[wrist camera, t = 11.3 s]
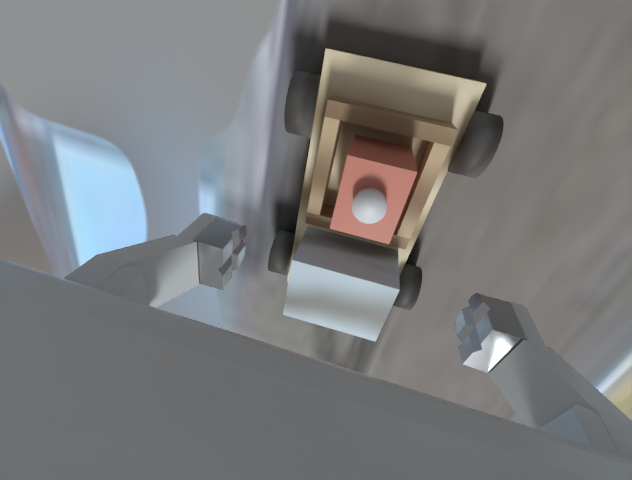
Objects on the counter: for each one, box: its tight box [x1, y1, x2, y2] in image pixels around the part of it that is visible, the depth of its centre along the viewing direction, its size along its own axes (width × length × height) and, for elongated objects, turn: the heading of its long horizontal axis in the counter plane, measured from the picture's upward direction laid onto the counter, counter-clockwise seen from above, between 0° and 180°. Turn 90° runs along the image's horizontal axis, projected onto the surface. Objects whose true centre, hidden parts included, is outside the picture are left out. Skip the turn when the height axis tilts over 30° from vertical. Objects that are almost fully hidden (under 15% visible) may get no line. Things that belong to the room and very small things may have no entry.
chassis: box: [268, 48, 503, 341], centre depth 22 cm, size 20×13×7 cm, turn 170°
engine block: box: [330, 135, 417, 244], centre depth 20 cm, size 5×4×6 cm
